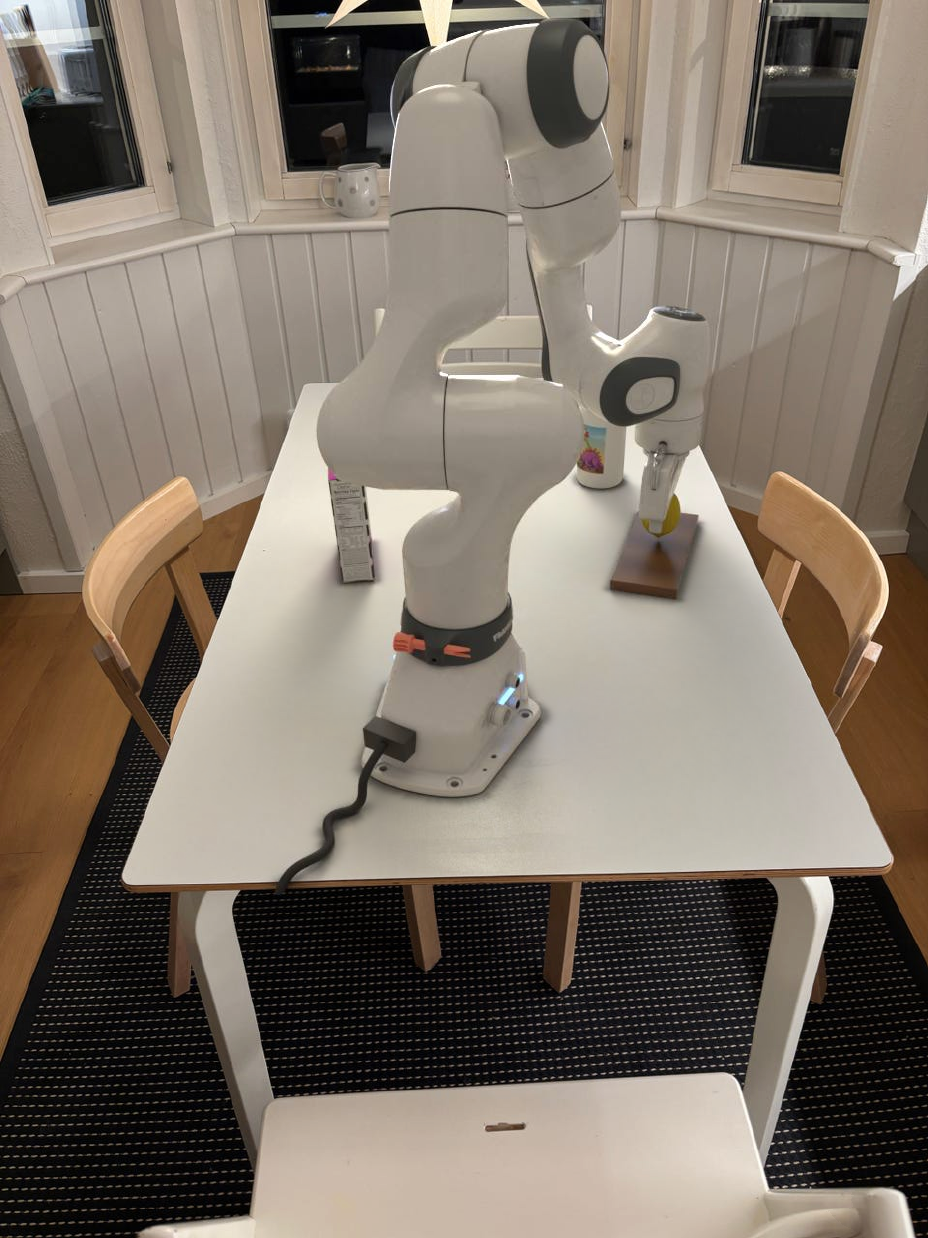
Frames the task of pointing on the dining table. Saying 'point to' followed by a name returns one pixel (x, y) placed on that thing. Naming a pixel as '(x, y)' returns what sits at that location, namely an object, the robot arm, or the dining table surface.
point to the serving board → (654, 559)
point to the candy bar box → (352, 530)
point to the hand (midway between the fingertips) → (659, 519)
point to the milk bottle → (601, 453)
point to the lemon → (667, 519)
